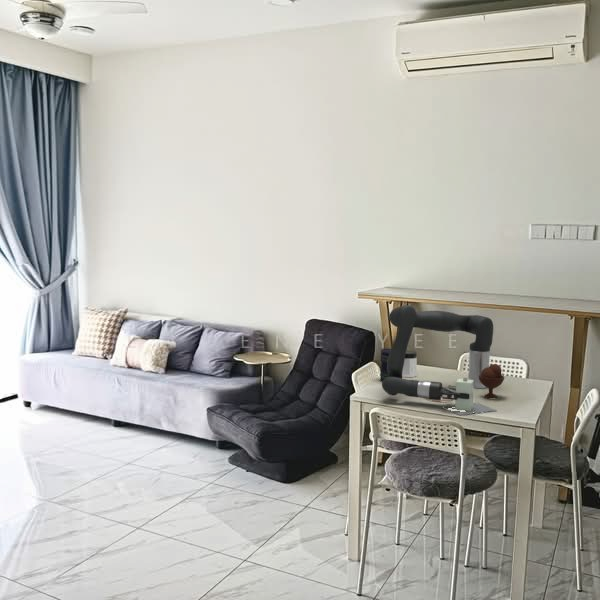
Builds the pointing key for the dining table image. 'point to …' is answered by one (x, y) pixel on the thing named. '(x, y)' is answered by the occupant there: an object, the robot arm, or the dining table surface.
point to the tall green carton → (465, 387)
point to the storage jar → (384, 363)
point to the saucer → (441, 399)
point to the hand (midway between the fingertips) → (470, 394)
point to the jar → (410, 364)
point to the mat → (473, 409)
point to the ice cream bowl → (491, 378)
